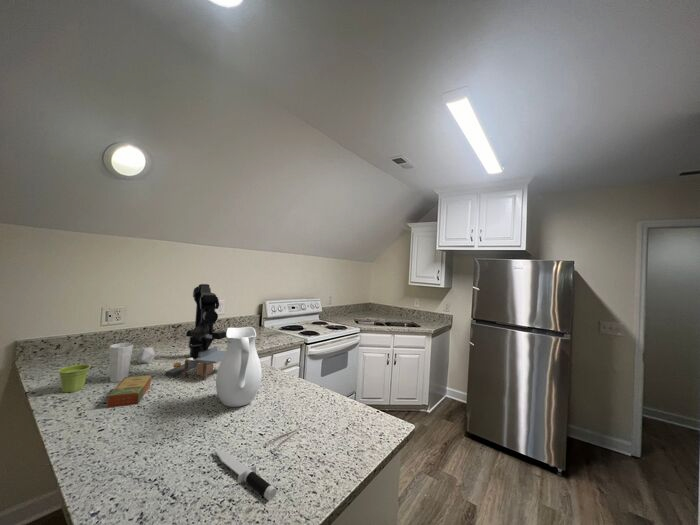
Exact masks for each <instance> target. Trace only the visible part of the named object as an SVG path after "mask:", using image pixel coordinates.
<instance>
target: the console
mask: <svg viewBox="0 0 700 525" xmlns="http://www.w3.org/2000/svg"><path fill="white" fill-rule="evenodd" d="M198 364H200V363H195V362H188V372H189V371H191V370H194V369H195V368H197V366H198ZM184 367H185V363H183V364H181V366H180V367H173V368H171V369H168V370H166V371H165V377H173V378H175V377H177V376H180V375H182V374H184Z"/></svg>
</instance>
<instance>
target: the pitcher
mask: <svg viewBox="0 0 700 525" xmlns="http://www.w3.org/2000/svg"><path fill="white" fill-rule="evenodd" d="M225 332H226V337H225V338H226V340H227V344H226V349H225V351H226V352H225V354H224V356H223V358H222V361H220V362H219V366H218V368H217V372H216V378H215V389H216V393H217V395H218V398H219V400H220V401H221V403H222V404H223V405H224V406H226V407H229V408H232V407H233V408H237V407H242V406H243V407H244V406H246V405H248V404H250V403H252V401H254V399H255V397H256V396H257V393H258V391H259V389H260V387H261V384H262V379H263V378H262V374H263V372H262V365H261V360H260V358H259V355H258V354H259V353H258V352H257V349H256V342H255V341H256V338H257V333H256V329H255V327H252V326H245V327H244V326H243V327H228V328H227V329H226V331H225Z"/></svg>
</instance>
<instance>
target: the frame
mask: <svg viewBox="0 0 700 525" xmlns="http://www.w3.org/2000/svg"><path fill="white" fill-rule="evenodd" d="M188 362H195V363H199V364H200V363H203V375H201V376H202V378H201V380H202V381H206V379H207V378H206V377H207V376H206V365H207V362H200V361H195V359H193V360H188V359H187V358H186V359H184V364H185V367H184V373H183V378H184V379H186V378H188V372H189V371H188Z"/></svg>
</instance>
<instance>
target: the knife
mask: <svg viewBox="0 0 700 525" xmlns="http://www.w3.org/2000/svg"><path fill="white" fill-rule="evenodd" d="M212 451H213V452H215V454H216V455H217V456H218V458H219V460H220V461H221V463H223V464H225V466H227V467H228V468H229V469H230V470H231V471H232V472H234V473H235V474H236V475H238V476H237V484H238V485H240V484H242V483H244V482H245V483H246V484H248V485H249V486H251V488H252V489H253V490H255V491H256V492H258V494H260V495H261V496H262V497H263V498H264V499H266V500H267V501H269V502H270V501H272V500H273V499H274V498H275V497H276V495H277V488H275V487H274V486H273V485H271V484H270V483H269V482H268V481H266V480H265V479H264V478H262V477H261V476H260V475H259V474H257V466H256V465H252V466H250V467H249V468H248V467H247V466H245V464H243V463H241V462H240V461H239V460H238V459H236V458H235V457H234V456H232V455H231V454H230V453H229V452H227V451H226V450H225V451H224V450H221V449H216V448H213V449H212ZM241 482H242V483H241ZM239 483H240V484H239Z"/></svg>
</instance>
